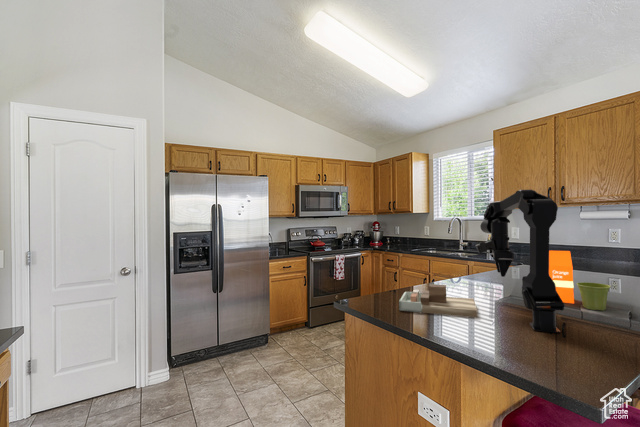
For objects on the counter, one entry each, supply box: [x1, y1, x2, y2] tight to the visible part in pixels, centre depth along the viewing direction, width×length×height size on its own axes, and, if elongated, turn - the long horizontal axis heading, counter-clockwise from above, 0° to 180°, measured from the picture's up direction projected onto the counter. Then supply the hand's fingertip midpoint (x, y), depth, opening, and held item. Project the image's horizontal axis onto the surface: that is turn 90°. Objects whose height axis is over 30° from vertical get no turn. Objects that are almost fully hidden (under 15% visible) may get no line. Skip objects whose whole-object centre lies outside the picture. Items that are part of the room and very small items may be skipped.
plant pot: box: [576, 281, 612, 312], centre depth 112 cm, size 9×9×9 cm
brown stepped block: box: [420, 283, 447, 305], centre depth 118 cm, size 13×9×6 cm
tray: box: [398, 291, 422, 313], centre depth 121 cm, size 16×8×4 cm, turn 157°
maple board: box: [421, 296, 478, 318], centre depth 116 cm, size 16×18×2 cm
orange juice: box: [549, 250, 575, 304], centre depth 124 cm, size 8×9×20 cm
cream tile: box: [412, 289, 420, 302], centre depth 124 cm, size 4×4×2 cm
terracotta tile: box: [411, 294, 418, 302], centre depth 117 cm, size 4×4×2 cm
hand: (501, 274), depth 118 cm, fingers open, 9 cm apart
